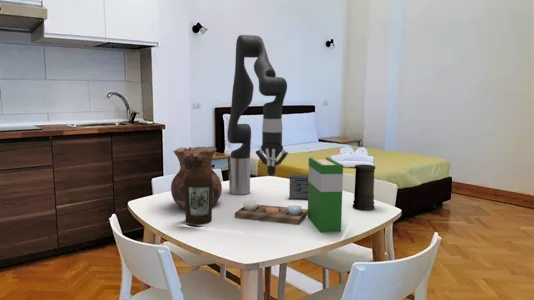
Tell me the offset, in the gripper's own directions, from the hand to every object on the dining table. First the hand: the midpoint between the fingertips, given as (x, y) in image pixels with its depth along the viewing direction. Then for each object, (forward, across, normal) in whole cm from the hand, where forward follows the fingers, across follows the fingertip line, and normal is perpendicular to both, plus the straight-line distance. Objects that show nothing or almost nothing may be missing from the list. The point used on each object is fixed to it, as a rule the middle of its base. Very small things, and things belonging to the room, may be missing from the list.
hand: (271, 175), depth 161 cm
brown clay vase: (+17, -34, +4) cm, 39 cm away
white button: (+14, -8, -2) cm, 16 cm away
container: (+17, +33, +26) cm, 45 cm away
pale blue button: (+14, +10, -2) cm, 17 cm away
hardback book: (+16, +22, -5) cm, 28 cm away
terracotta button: (+15, +1, -2) cm, 15 cm away
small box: (+17, +4, +33) cm, 37 cm away
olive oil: (+17, -22, -17) cm, 33 cm away
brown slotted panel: (+16, +1, -2) cm, 17 cm away
